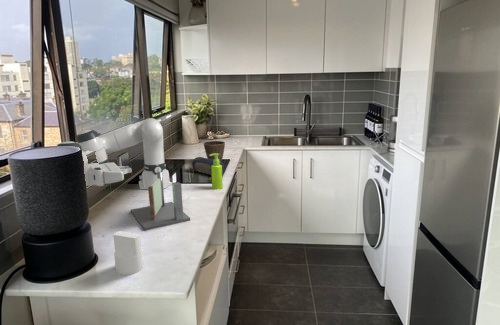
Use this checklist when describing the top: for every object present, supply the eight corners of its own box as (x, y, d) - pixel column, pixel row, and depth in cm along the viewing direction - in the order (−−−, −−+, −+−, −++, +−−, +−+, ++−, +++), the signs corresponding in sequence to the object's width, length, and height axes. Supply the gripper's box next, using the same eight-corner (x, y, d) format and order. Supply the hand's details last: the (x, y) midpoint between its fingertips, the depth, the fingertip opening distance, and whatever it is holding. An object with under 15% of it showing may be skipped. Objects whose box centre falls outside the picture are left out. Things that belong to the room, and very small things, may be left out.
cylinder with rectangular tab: (110, 272, 118) (106, 238, 116) (128, 259, 127) (124, 227, 124) (132, 277, 115) (129, 242, 112) (149, 263, 123) (146, 230, 121)
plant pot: (216, 168, 249) (216, 145, 245) (200, 165, 257) (199, 143, 253) (229, 163, 261) (229, 142, 257) (213, 161, 269) (212, 140, 265)
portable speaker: (189, 172, 241) (189, 157, 238) (201, 169, 248) (200, 155, 246) (216, 178, 225) (215, 163, 222) (227, 175, 232) (227, 160, 230)
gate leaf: (159, 206, 173) (157, 177, 169) (162, 206, 173) (160, 177, 169) (150, 219, 157) (148, 187, 154) (154, 218, 157) (151, 187, 154)
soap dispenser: (209, 187, 206) (207, 153, 202) (220, 186, 209) (219, 152, 204) (212, 190, 201) (210, 155, 196) (224, 188, 204) (222, 154, 199)
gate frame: (130, 211, 171) (127, 174, 167) (171, 204, 181) (169, 168, 176) (144, 230, 150) (141, 188, 146) (190, 220, 160) (188, 180, 155)
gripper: (92, 175, 156) (125, 170, 163) (100, 187, 139) (136, 181, 146) (90, 161, 155) (124, 157, 161) (98, 171, 137) (135, 166, 144)
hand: (130, 169), depth 153 cm, fingers open, 2 cm apart
